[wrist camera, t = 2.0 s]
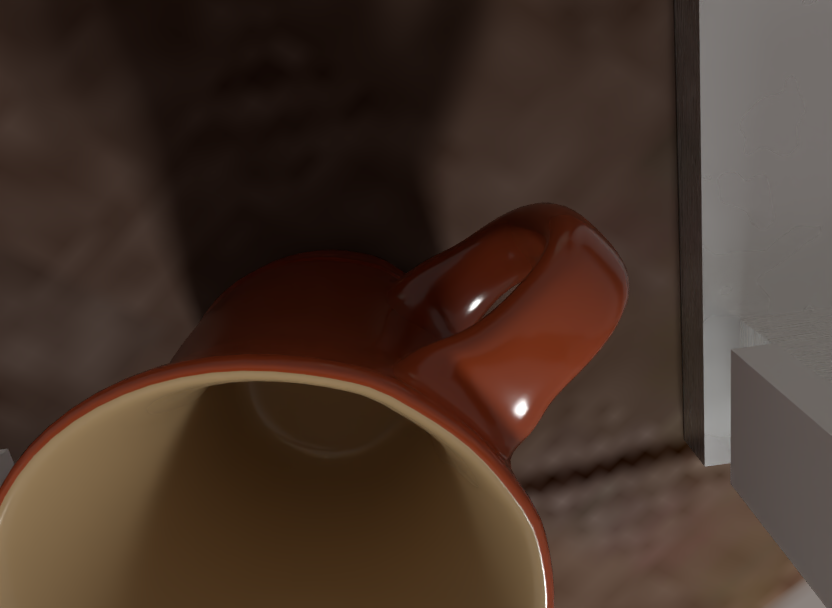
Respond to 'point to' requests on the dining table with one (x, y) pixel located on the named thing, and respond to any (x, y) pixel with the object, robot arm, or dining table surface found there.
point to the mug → (325, 437)
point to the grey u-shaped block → (751, 195)
